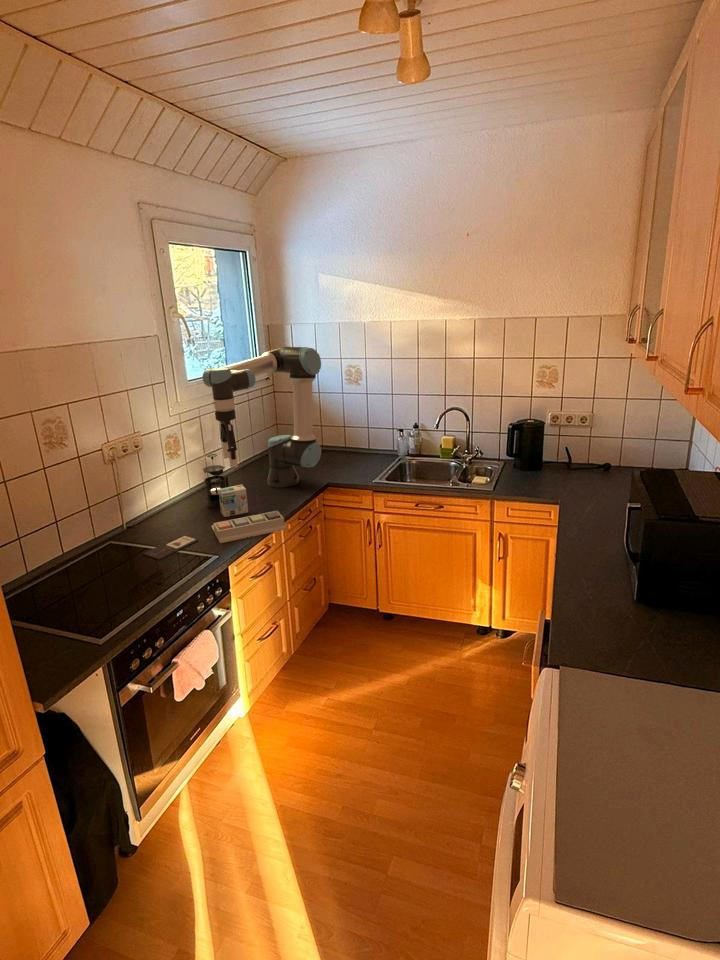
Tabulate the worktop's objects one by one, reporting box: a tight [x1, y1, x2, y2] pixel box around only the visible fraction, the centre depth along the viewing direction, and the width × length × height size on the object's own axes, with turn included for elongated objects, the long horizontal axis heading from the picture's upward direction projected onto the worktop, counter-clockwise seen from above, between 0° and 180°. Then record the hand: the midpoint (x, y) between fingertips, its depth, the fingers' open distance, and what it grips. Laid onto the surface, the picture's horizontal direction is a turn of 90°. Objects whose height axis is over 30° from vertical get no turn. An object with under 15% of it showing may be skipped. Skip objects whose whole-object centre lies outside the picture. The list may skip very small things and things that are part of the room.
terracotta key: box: [216, 520, 231, 530], centre depth 216 cm, size 4×4×2 cm
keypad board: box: [211, 510, 287, 544], centre depth 221 cm, size 26×16×4 cm, turn 115°
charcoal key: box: [265, 511, 280, 520], centre depth 223 cm, size 4×4×2 cm
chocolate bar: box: [142, 535, 199, 561], centre depth 208 cm, size 9×1×18 cm
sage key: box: [250, 514, 264, 524], centre depth 221 cm, size 4×4×2 cm
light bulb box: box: [218, 484, 249, 518], centre depth 237 cm, size 11×7×11 cm, turn 117°
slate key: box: [234, 517, 248, 527], centre depth 218 cm, size 4×4×2 cm
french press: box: [202, 453, 230, 509], centre depth 245 cm, size 12×9×23 cm
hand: (230, 462), depth 222 cm, fingers open, 13 cm apart
